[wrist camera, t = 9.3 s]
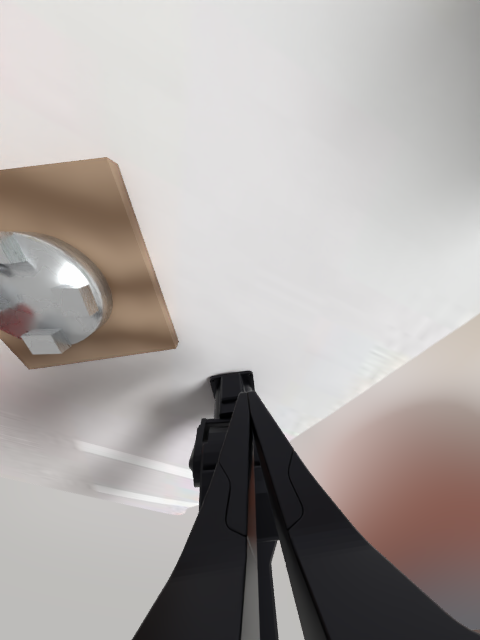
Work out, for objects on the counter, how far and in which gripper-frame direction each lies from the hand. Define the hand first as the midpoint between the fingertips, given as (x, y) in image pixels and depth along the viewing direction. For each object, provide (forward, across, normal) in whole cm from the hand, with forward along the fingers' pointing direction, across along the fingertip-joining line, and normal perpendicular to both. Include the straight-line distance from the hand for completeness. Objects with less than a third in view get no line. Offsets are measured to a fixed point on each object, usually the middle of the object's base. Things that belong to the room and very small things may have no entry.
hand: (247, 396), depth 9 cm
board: (+13, +17, -5) cm, 22 cm away
